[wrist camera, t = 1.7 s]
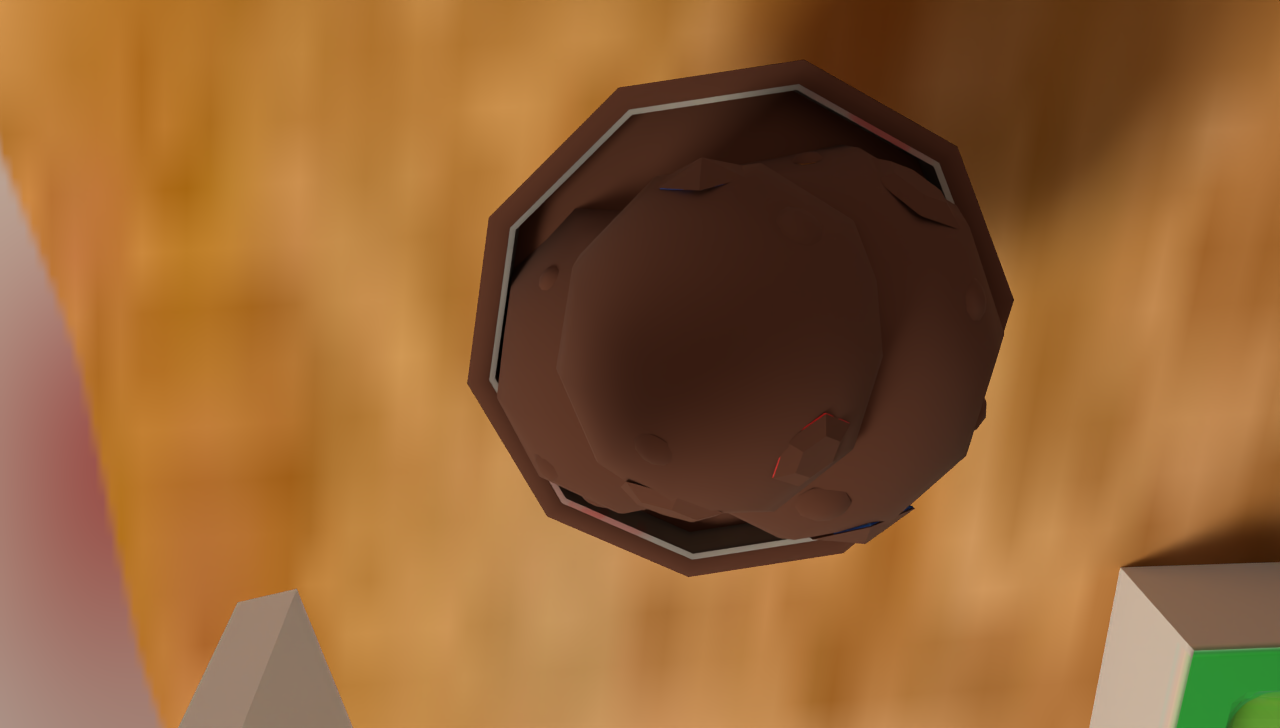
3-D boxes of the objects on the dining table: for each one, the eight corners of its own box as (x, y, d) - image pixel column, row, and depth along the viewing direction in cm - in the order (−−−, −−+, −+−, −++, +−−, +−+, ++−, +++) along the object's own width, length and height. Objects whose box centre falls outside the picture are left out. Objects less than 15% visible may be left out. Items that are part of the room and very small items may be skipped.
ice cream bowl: (479, 380, 32) (410, 724, 18) (531, -15, 28) (497, 32, 14) (825, 428, 33) (1012, 783, 19) (921, 57, 29) (1246, 166, 15)
